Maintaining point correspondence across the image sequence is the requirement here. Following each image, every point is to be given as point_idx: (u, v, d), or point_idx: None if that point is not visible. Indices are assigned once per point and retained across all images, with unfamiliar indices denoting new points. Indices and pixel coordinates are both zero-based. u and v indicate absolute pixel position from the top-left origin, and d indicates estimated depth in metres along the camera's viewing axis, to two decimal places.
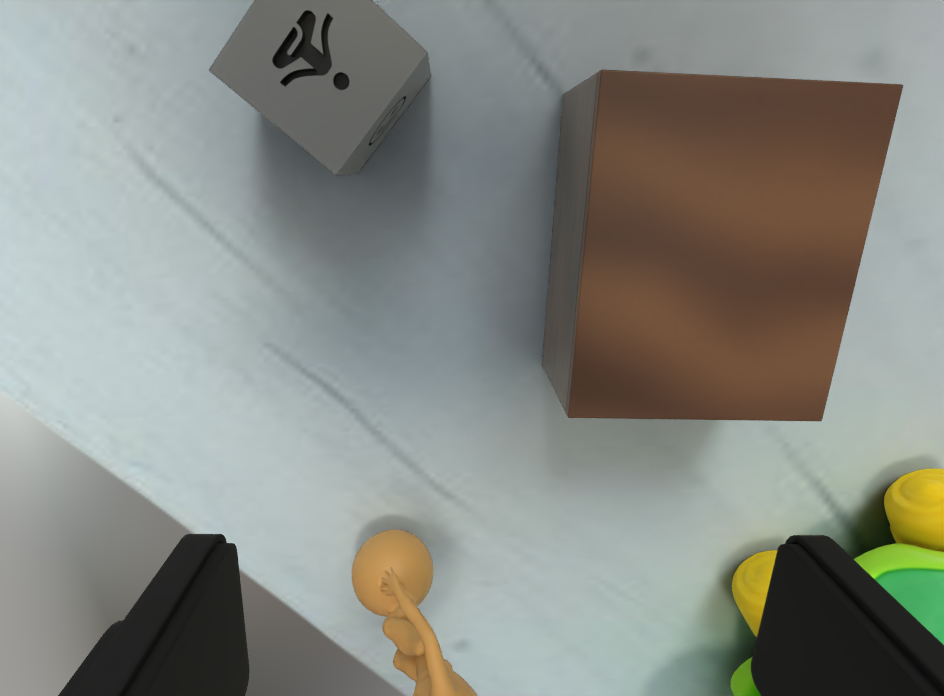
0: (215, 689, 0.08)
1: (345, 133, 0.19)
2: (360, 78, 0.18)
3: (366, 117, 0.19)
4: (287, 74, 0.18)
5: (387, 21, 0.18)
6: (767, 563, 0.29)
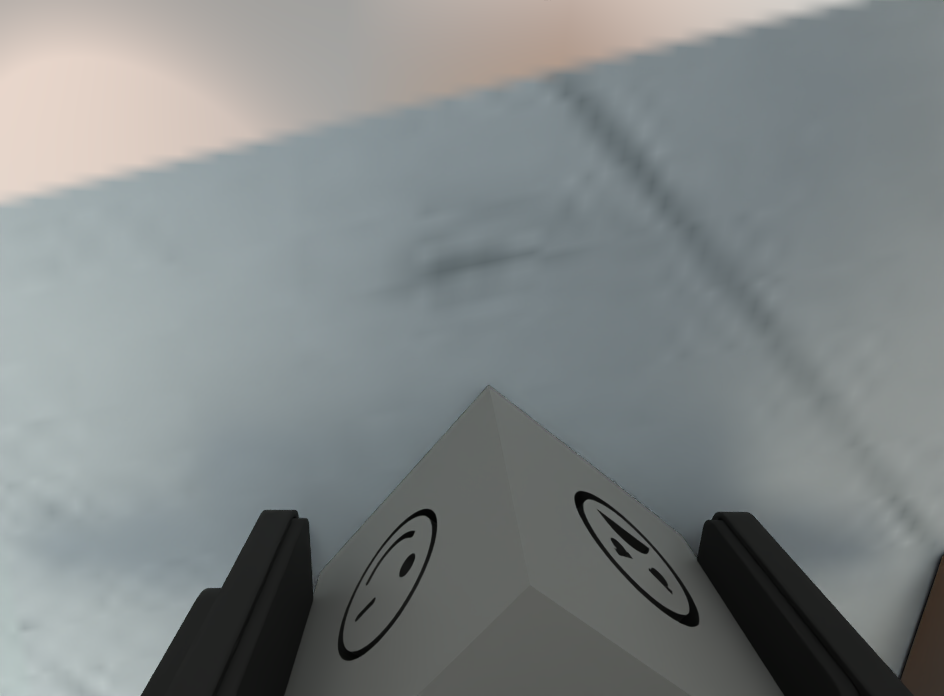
0: (295, 651, 0.09)
1: None
2: None
3: None
4: None
5: None
6: None
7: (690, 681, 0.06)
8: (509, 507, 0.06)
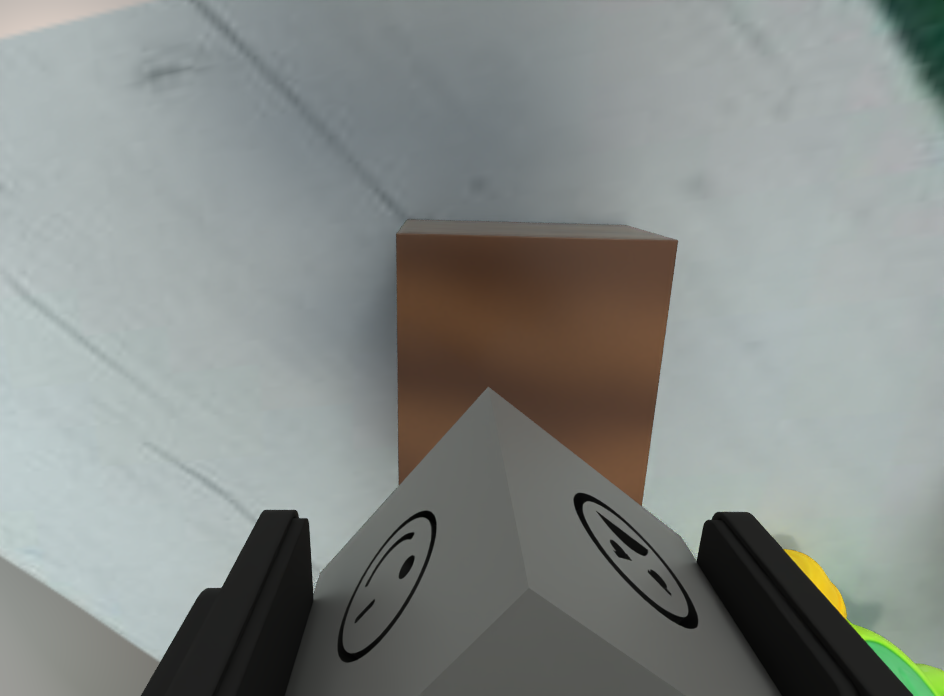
0: (295, 651, 0.09)
1: None
2: None
3: None
4: None
5: None
6: None
7: (689, 683, 0.06)
8: (508, 509, 0.06)
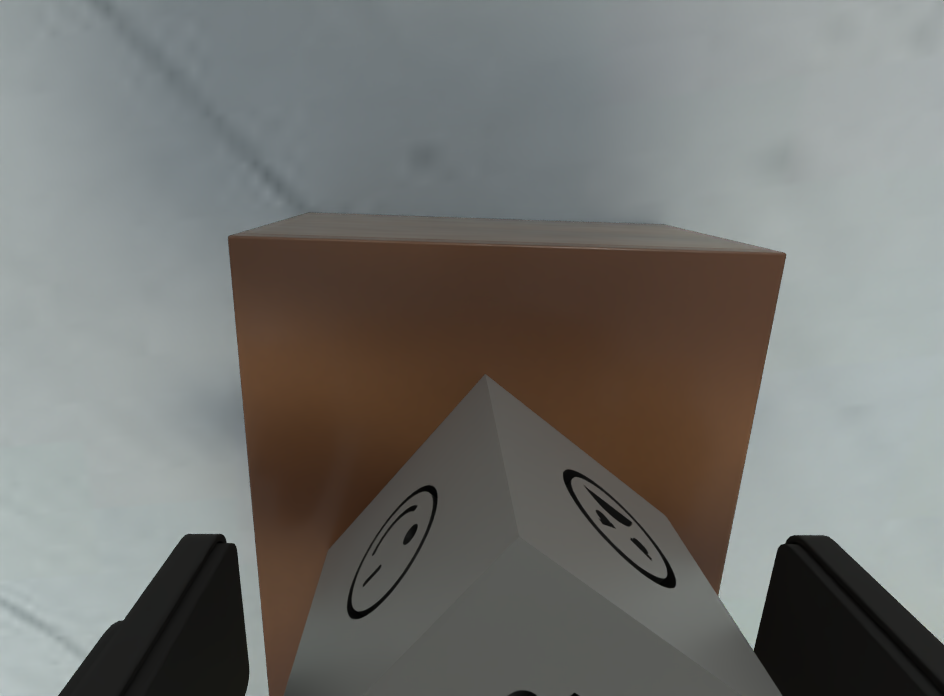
0: (215, 689, 0.08)
1: None
2: None
3: None
4: None
5: None
6: None
7: (662, 626, 0.07)
8: (502, 476, 0.07)
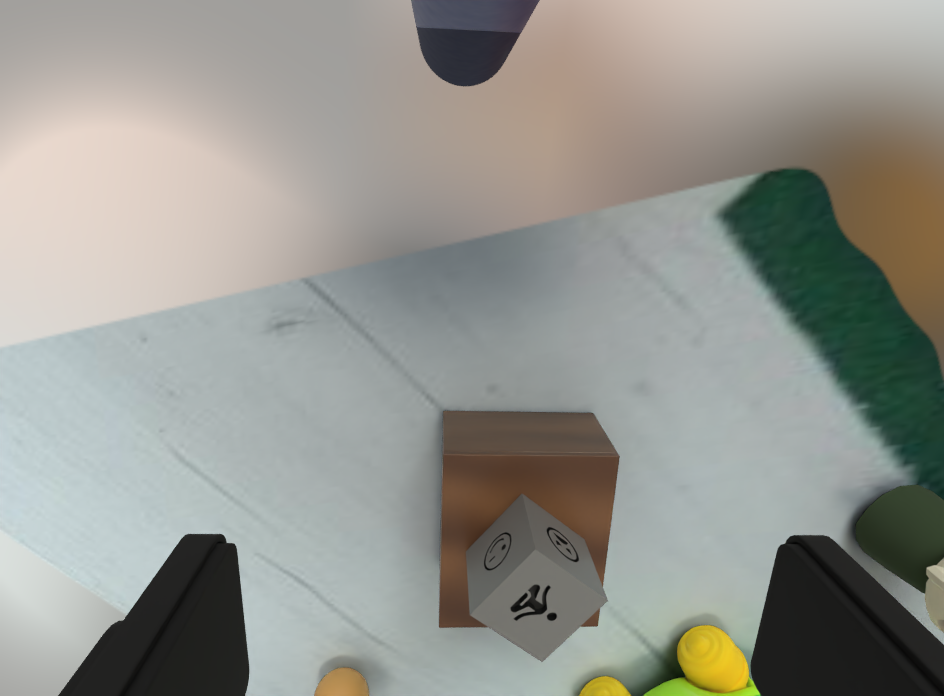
0: (215, 689, 0.08)
1: (550, 641, 0.29)
2: (564, 614, 0.29)
3: (565, 633, 0.29)
4: (518, 614, 0.29)
5: (584, 587, 0.28)
6: (598, 688, 0.43)
7: (568, 570, 0.28)
8: (530, 533, 0.29)
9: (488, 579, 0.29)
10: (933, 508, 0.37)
